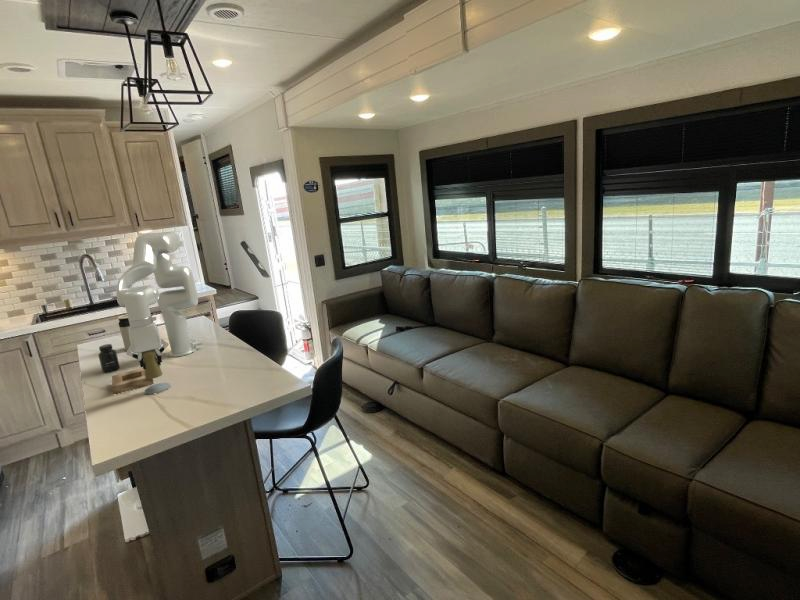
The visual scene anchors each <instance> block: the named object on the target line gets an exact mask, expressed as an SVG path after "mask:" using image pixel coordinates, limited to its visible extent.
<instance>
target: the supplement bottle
mask: <svg viewBox="0 0 800 600" xmlns="http://www.w3.org/2000/svg"><path fill="white" fill-rule="evenodd" d="M98 349H99V353H98V360H99V362H100V367H101V370H102V372H103V373H104V374H106V373H107V374H108V372H109V373H114V372H116V371H118V370H120V368H121V365H120V362H119V358H118V355H117V351H116V349H113V345H112V343H111V344H110V343H107V344H103V345H100V346H98ZM113 371H114V372H113Z"/></svg>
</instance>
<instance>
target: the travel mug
mask: <svg viewBox="0 0 800 600" xmlns="http://www.w3.org/2000/svg"><path fill="white" fill-rule="evenodd" d="M117 320H118V327H119V331H120V335H121V339H122V341H123V345H124V346H123V347H124V349H125V351H126V352H127V351H128V349H129V347H130V346H131V343H130V338H129V328H130V323H129V319H128V315H127V314H124V315H120V316H118V317H117Z"/></svg>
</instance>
